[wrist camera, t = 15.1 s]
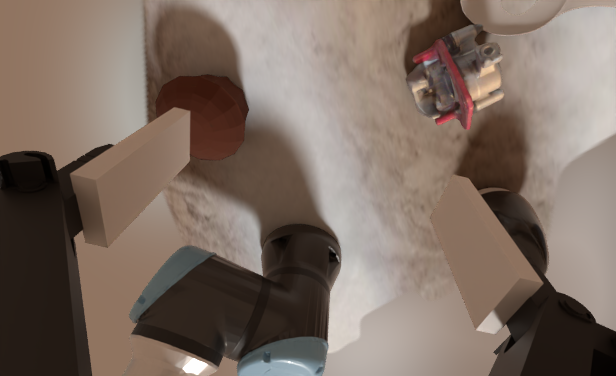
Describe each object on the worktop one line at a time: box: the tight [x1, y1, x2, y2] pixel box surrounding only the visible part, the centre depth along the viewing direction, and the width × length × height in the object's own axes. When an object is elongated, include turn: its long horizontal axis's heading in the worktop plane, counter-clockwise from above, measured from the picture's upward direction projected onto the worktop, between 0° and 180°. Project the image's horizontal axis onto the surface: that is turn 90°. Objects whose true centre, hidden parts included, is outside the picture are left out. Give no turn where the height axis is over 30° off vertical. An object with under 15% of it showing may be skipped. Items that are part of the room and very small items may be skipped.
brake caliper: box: [406, 24, 504, 130], centre depth 36 cm, size 11×11×12 cm
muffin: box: [156, 74, 249, 160], centre depth 41 cm, size 12×11×10 cm
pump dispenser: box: [478, 188, 549, 275], centre depth 43 cm, size 10×10×15 cm
